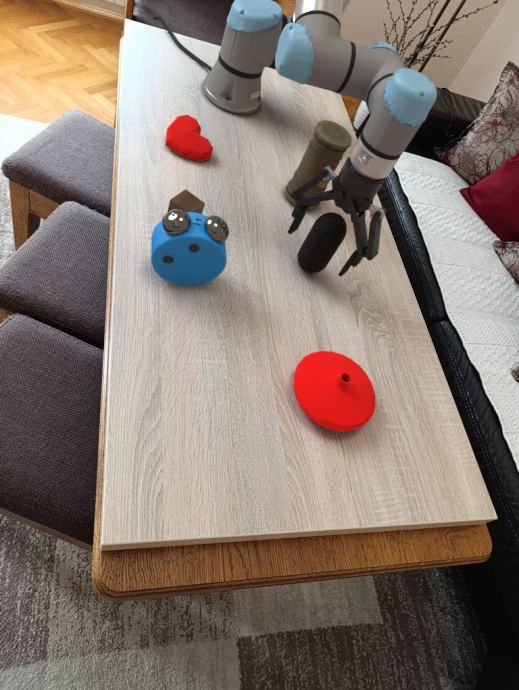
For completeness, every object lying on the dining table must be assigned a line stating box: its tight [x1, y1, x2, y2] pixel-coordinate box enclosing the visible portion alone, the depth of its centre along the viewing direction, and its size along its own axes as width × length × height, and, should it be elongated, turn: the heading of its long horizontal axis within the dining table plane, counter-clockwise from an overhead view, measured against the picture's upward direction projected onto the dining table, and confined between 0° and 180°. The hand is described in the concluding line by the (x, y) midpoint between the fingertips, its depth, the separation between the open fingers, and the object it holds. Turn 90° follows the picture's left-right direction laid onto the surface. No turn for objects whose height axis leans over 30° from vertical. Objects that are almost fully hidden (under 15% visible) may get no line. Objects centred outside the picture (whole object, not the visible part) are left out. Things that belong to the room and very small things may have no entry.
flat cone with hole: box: [292, 350, 377, 432], centre depth 87 cm, size 16×16×7 cm
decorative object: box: [296, 211, 348, 275], centre depth 101 cm, size 7×7×15 cm
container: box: [284, 119, 353, 212], centre depth 112 cm, size 9×9×18 cm
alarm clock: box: [150, 209, 230, 287], centre depth 89 cm, size 13×6×15 cm, turn 96°
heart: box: [165, 114, 214, 162], centre depth 114 cm, size 12×4×10 cm
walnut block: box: [166, 188, 206, 215], centre depth 100 cm, size 5×5×5 cm
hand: (317, 251), depth 102 cm, fingers open, 13 cm apart
